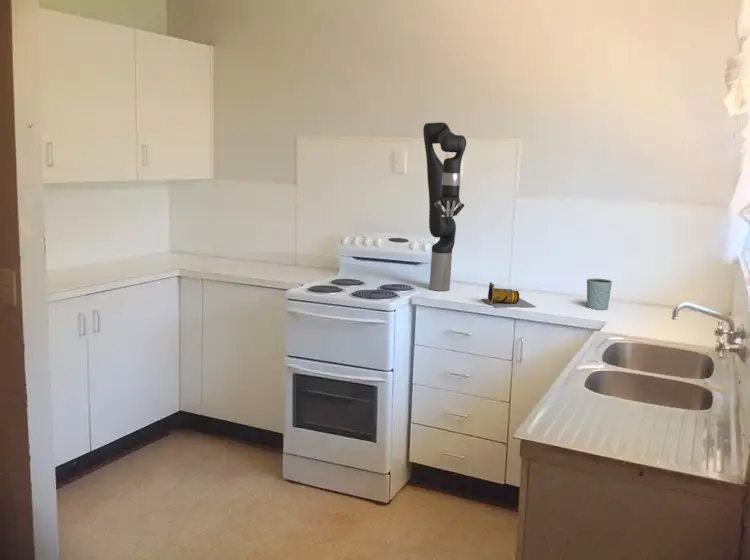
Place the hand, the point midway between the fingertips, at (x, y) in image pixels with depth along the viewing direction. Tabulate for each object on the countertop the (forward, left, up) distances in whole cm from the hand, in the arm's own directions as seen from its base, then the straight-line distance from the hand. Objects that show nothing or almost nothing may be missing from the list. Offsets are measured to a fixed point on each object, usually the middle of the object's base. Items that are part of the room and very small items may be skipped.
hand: (448, 225), depth 316 cm
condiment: (+6, +18, -27) cm, 33 cm away
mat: (+6, +27, -32) cm, 42 cm away
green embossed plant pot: (+16, +63, -32) cm, 73 cm away
